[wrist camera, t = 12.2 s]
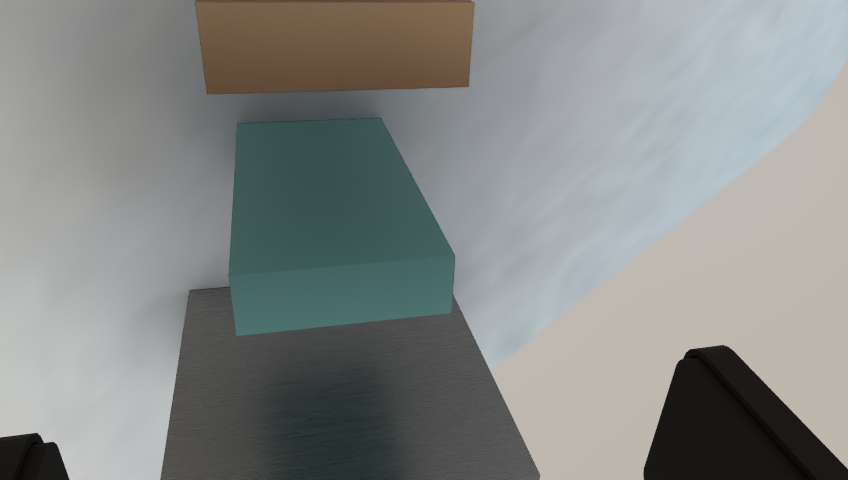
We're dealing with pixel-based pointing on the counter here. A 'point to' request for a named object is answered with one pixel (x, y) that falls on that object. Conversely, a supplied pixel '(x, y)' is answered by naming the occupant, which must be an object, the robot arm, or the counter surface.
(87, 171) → the counter surface
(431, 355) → the block
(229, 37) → the domino
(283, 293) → the domino
